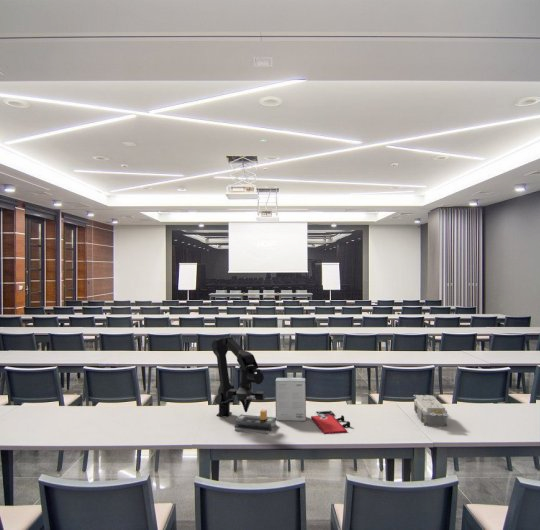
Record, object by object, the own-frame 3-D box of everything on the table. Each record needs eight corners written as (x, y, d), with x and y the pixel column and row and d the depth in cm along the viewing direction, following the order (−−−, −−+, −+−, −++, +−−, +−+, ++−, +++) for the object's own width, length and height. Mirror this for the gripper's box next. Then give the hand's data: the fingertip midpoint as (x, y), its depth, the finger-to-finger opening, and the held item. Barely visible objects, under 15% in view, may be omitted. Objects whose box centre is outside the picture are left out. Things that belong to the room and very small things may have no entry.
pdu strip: (241, 421, 210) (241, 414, 210) (275, 424, 205) (275, 417, 205) (234, 427, 201) (234, 419, 201) (270, 431, 196) (270, 423, 196)
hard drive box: (306, 416, 218) (306, 377, 218) (305, 421, 210) (305, 381, 211) (276, 415, 219) (276, 377, 220) (275, 420, 211) (275, 380, 212)
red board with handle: (334, 412, 225) (307, 414, 223) (334, 406, 225) (307, 408, 223) (354, 433, 195) (323, 435, 193) (354, 427, 196) (323, 429, 193)
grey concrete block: (431, 410, 226) (432, 392, 226) (452, 433, 198) (453, 412, 198) (409, 409, 227) (410, 391, 226) (427, 432, 198) (427, 411, 198)
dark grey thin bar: (235, 428, 199) (235, 426, 199) (269, 432, 195) (269, 430, 195) (233, 430, 197) (233, 428, 197) (267, 434, 192) (267, 432, 192)
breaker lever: (262, 417, 204) (262, 409, 204) (266, 418, 203) (266, 409, 203) (260, 419, 201) (260, 411, 201) (265, 420, 200) (265, 411, 200)
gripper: (222, 382, 200) (222, 415, 200) (260, 385, 195) (259, 419, 195) (230, 377, 211) (230, 408, 210) (266, 379, 206) (266, 411, 205)
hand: (246, 412), depth 205 cm, fingers closed
